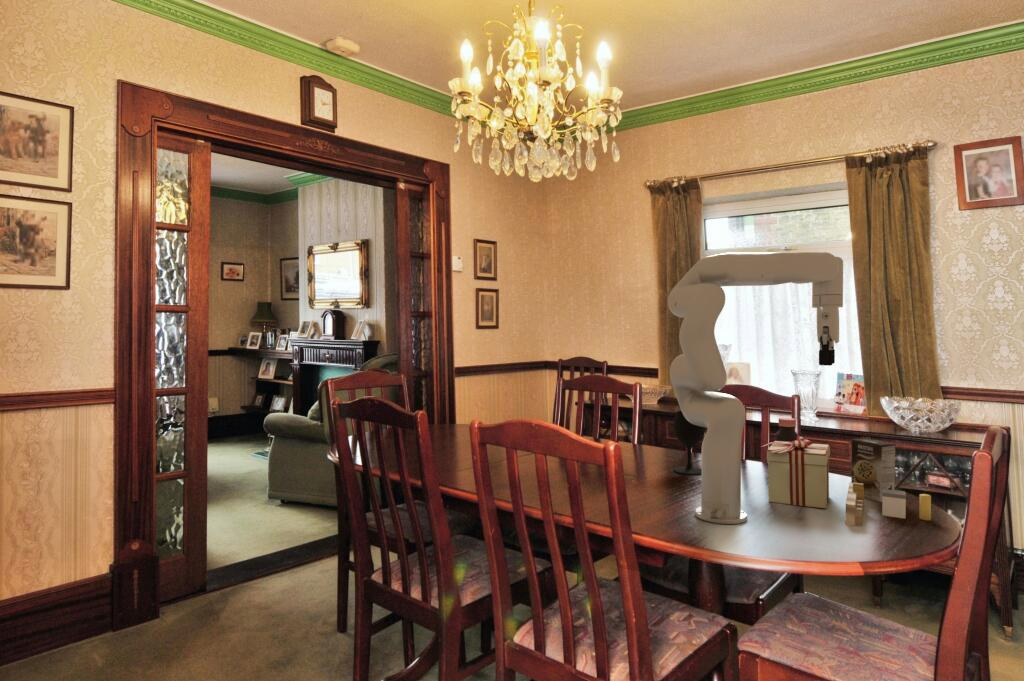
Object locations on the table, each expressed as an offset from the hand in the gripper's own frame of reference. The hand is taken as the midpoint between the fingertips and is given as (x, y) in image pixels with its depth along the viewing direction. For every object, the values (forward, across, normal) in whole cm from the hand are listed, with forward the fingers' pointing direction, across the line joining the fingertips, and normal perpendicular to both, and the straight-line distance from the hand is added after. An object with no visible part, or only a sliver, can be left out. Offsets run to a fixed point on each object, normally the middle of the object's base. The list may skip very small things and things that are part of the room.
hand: (826, 364), depth 165 cm
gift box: (+39, -1, +8) cm, 39 cm away
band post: (+38, -3, -22) cm, 45 cm away
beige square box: (+38, -3, -16) cm, 42 cm away
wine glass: (+38, +17, +42) cm, 59 cm away
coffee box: (+38, +13, -11) cm, 42 cm away
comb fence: (+38, -6, -6) cm, 39 cm away
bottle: (+38, +18, +12) cm, 44 cm away
